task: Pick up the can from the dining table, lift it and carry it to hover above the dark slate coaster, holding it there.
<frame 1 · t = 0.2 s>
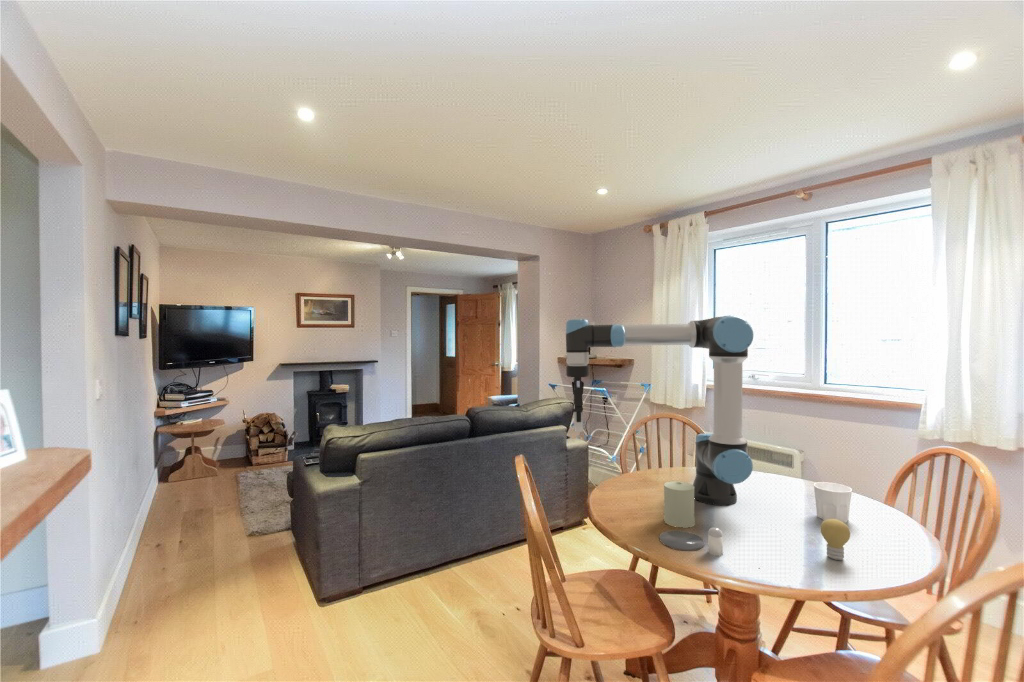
hand: (578, 427, 160), 28 cm above the table, fingers open, 13 cm apart
can: (679, 522, 149), on the table
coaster: (681, 541, 135), on the table
salt shaker: (715, 553, 127), on the table
light bulb: (835, 558, 124), on the table
cup: (832, 518, 150), on the table
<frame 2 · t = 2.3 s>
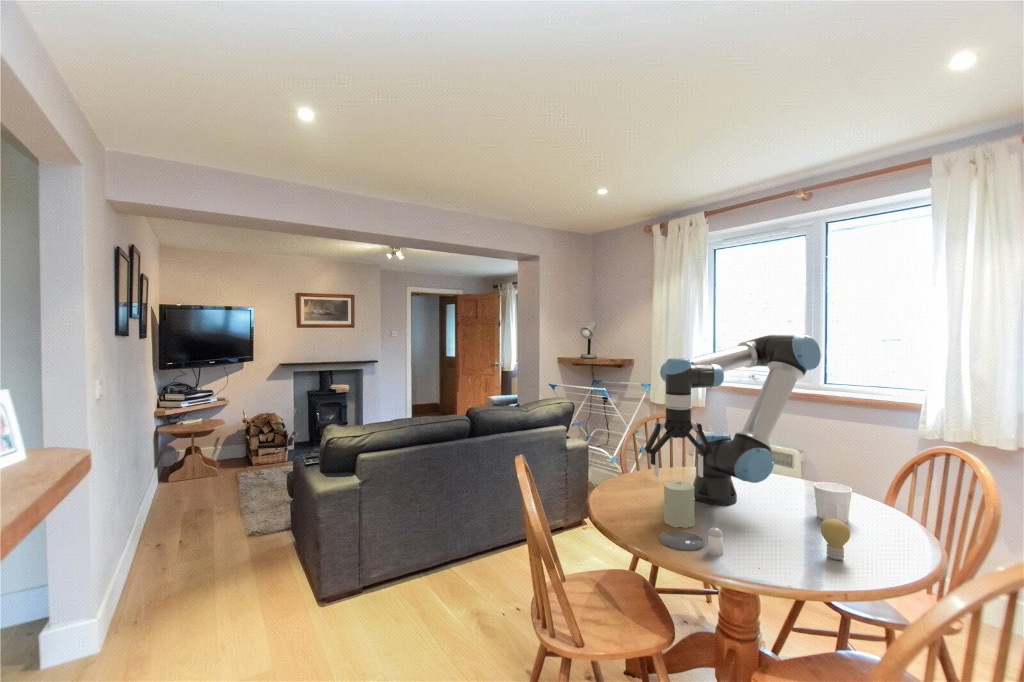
hand: (678, 475, 148), 15 cm above the table, fingers open, 13 cm apart
nothing on the table moved.
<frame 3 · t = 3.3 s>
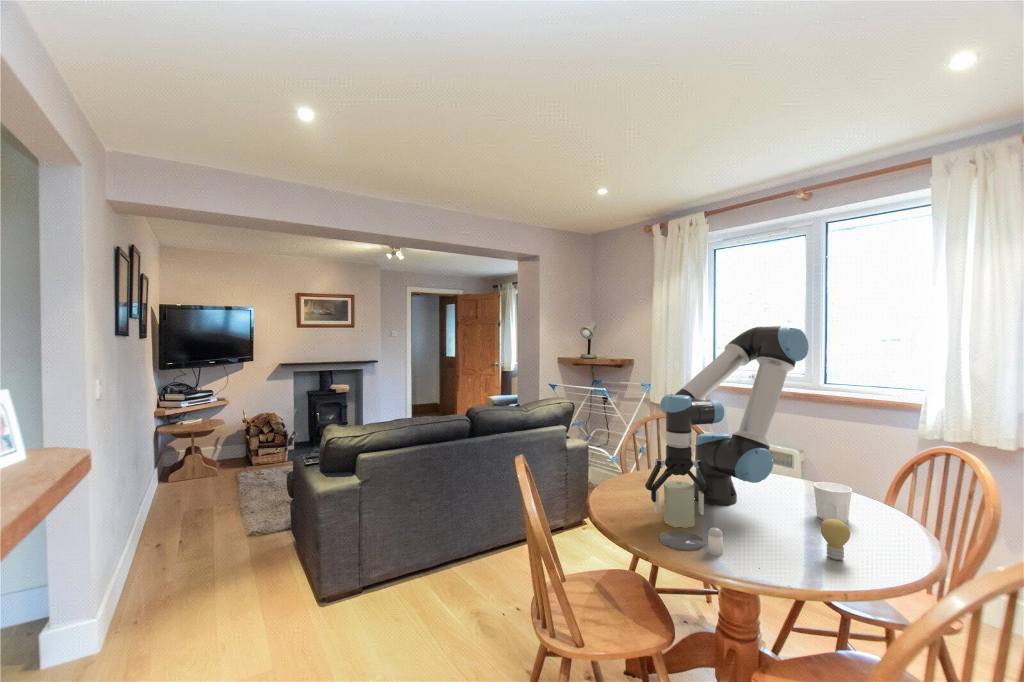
hand: (678, 512, 149), 3 cm above the table, fingers open, 13 cm apart
nothing on the table moved.
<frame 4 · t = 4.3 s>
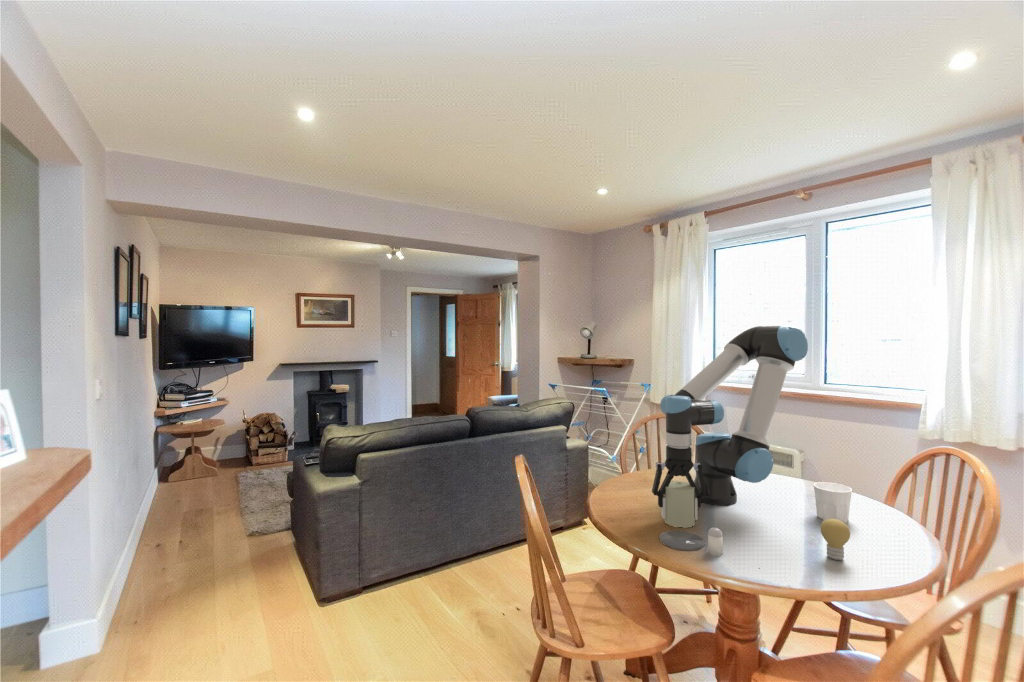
hand: (679, 517, 149), 1 cm above the table, fingers closed on can, 9 cm apart
can: (679, 522, 149), on the table, touching gripper
everything else where it was.
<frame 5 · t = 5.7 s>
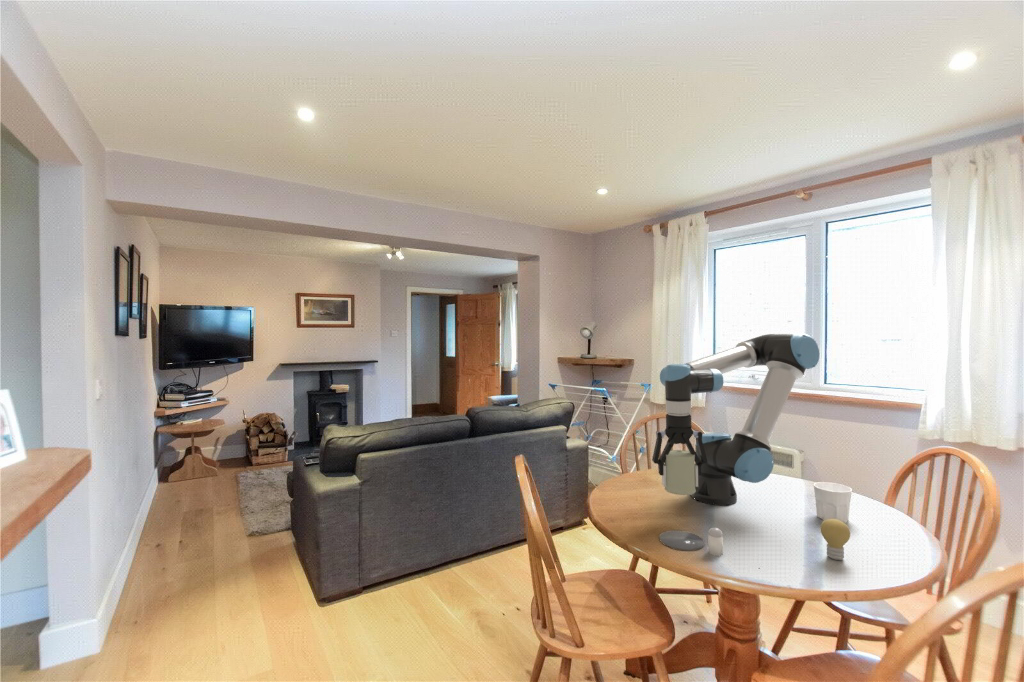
hand: (680, 485, 149), 12 cm above the table, fingers closed on can, 9 cm apart
can: (680, 490, 149), point 10 cm above the table, touching gripper
everything else where it was.
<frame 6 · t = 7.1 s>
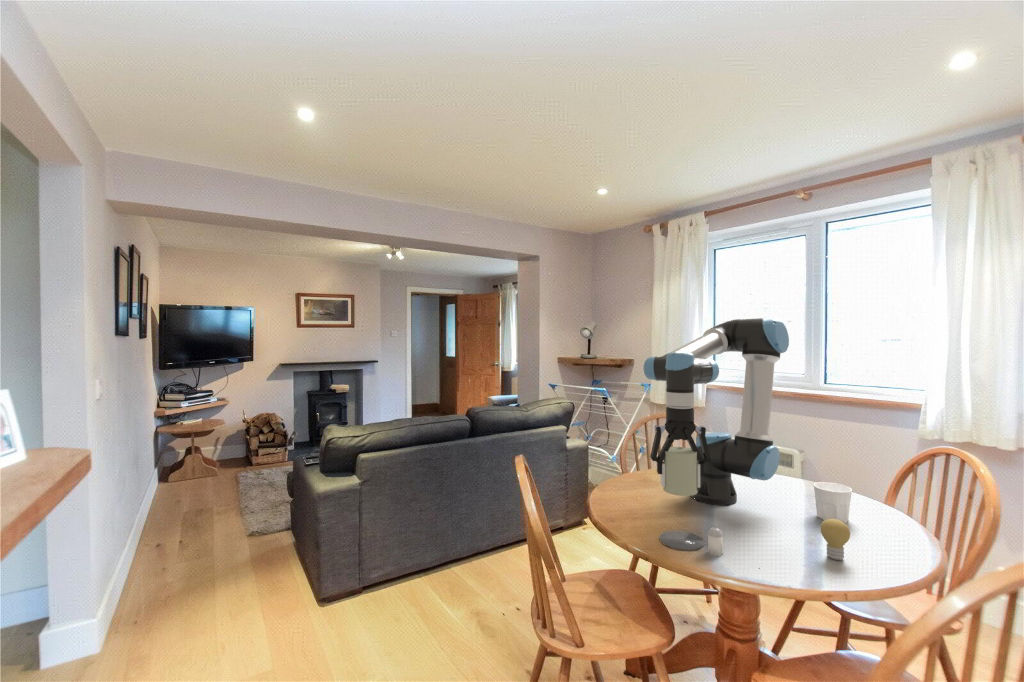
hand: (680, 485, 135), 16 cm above the table, fingers closed on can, 9 cm apart
can: (680, 491, 135), point 14 cm above the table, touching gripper
everything else where it was.
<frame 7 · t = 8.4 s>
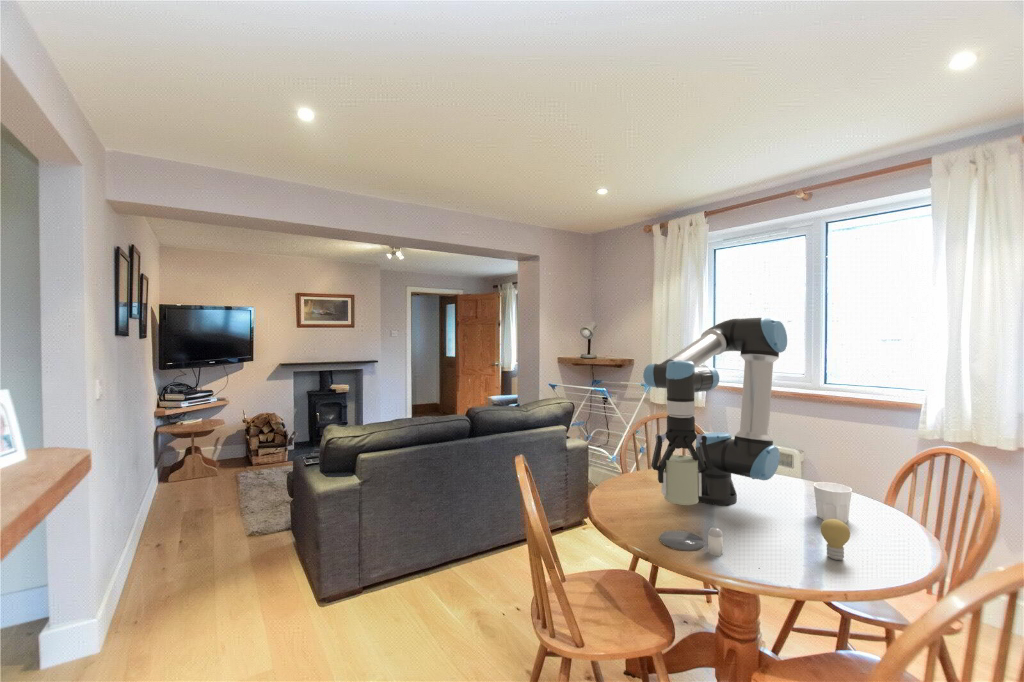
hand: (681, 494, 135), 13 cm above the table, fingers closed on can, 9 cm apart
can: (681, 500, 135), point 12 cm above the table, touching gripper
everything else where it was.
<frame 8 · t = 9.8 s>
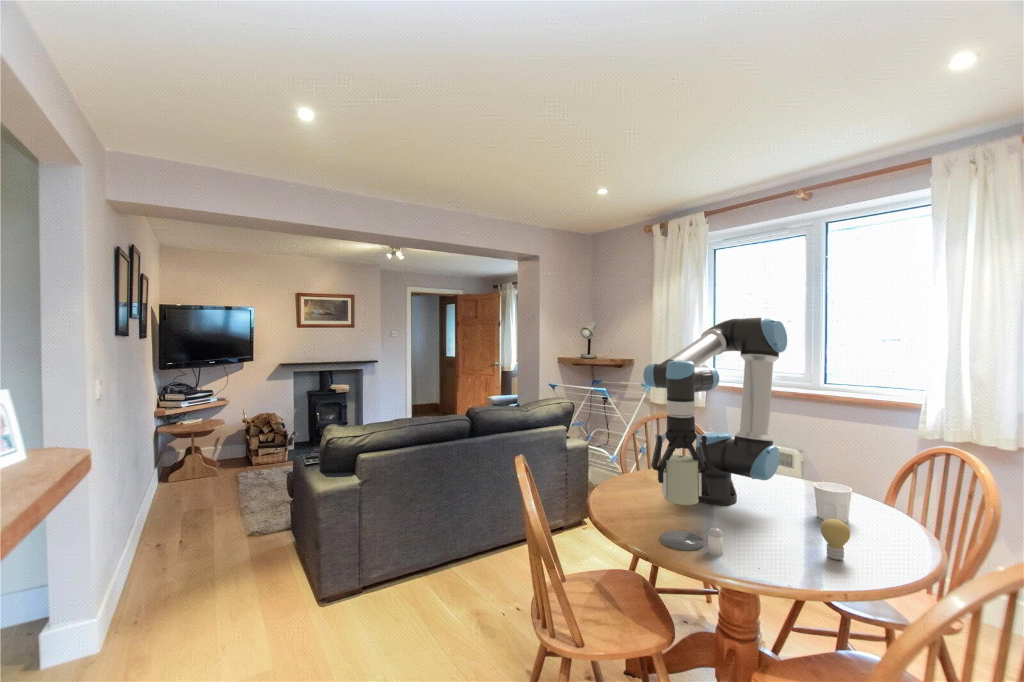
hand: (681, 494, 135), 13 cm above the table, fingers closed on can, 9 cm apart
can: (681, 500, 135), point 12 cm above the table, touching gripper
everything else where it was.
at the end: the gripper is holding can; can point 11.7 cm above the table; can 0.1 cm from the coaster (horizontally) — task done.
